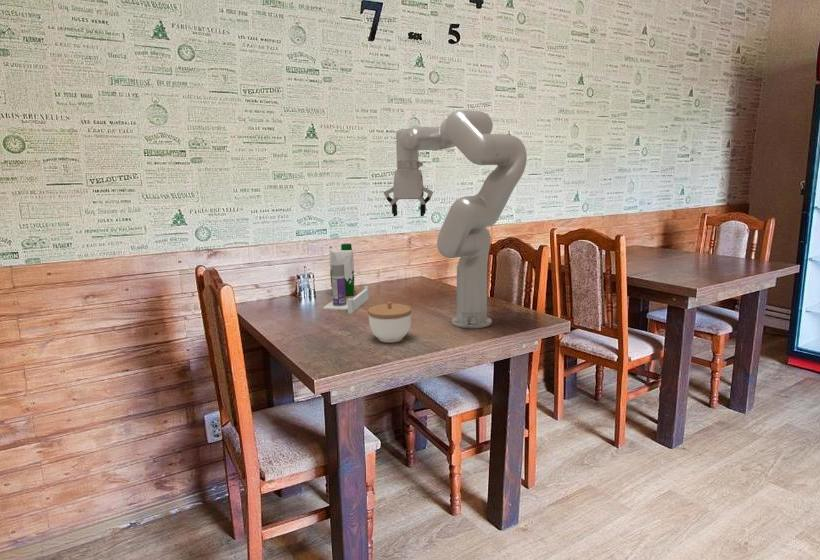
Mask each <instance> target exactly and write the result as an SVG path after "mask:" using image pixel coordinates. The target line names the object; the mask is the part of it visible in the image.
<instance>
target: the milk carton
mask: <svg viewBox="0 0 820 560" xmlns="http://www.w3.org/2000/svg"><path fill="white" fill-rule="evenodd" d="M334 263H343V264H344V274H345V291H346V297H355V268H354V267H355V265H354V250H353V249H352V243H341V244H340V248H339V247H337V248H331V249H329V272H330V273H329V275H330V284H331V287H332V272H331V264H334Z"/></svg>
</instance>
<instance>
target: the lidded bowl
mask: <svg viewBox="0 0 820 560" xmlns="http://www.w3.org/2000/svg"><path fill="white" fill-rule="evenodd" d="M367 315H368V324H369V328H370V330H371V333H372V334H373V335H374V337H376V339H378V341H379V342H381V343H387V344H388V343H397V342H400V341H402V340H403V338H405V337H406V335H407V334H408V332H409V330H410V327H411V323H412V308H411V306H409V305H406V304H402V303H392V301H388V302H386V303H383V304H376V305H373V306H370V307H369V308H368V309H367Z"/></svg>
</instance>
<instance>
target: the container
mask: <svg viewBox="0 0 820 560" xmlns="http://www.w3.org/2000/svg"><path fill="white" fill-rule="evenodd" d="M331 272H332V286H331V290H332V292H331V293H332V302H333V306H338V307H339V306H345V305H346V302H347V296H346V291H345V274H344V264H343V263H334V264H331Z"/></svg>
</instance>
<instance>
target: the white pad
mask: <svg viewBox="0 0 820 560" xmlns="http://www.w3.org/2000/svg"><path fill="white" fill-rule="evenodd" d="M322 310H332V311H335V310H336V311H348V304H347V301H346V305H345V306H339V307H338V306H333V300H332V301H330V302H329V303H327V304H326V305H324V306H323V307H322Z"/></svg>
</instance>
